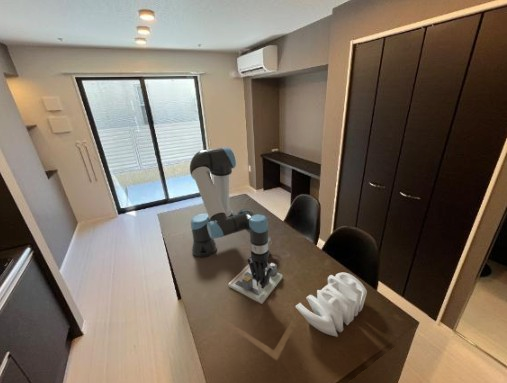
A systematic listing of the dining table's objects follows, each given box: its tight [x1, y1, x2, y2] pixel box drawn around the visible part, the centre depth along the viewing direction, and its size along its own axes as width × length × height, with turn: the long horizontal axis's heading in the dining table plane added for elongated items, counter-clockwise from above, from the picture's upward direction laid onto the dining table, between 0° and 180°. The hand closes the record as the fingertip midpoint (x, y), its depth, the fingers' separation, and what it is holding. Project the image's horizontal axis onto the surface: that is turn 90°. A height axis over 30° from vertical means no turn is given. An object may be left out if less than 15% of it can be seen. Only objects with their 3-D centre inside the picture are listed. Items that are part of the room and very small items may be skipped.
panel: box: [228, 262, 283, 304], centre depth 115 cm, size 20×20×7 cm
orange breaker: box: [242, 276, 253, 291], centre depth 110 cm, size 4×4×6 cm
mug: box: [268, 235, 274, 256], centre depth 137 cm, size 12×9×11 cm
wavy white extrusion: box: [295, 272, 368, 338], centre depth 97 cm, size 35×16×10 cm, turn 126°
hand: (261, 292), depth 106 cm, fingers closed
